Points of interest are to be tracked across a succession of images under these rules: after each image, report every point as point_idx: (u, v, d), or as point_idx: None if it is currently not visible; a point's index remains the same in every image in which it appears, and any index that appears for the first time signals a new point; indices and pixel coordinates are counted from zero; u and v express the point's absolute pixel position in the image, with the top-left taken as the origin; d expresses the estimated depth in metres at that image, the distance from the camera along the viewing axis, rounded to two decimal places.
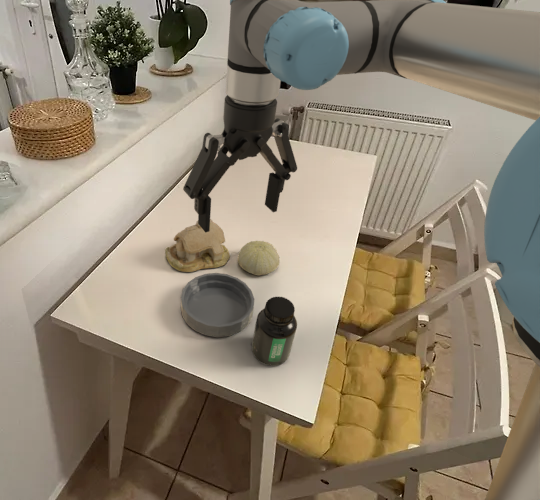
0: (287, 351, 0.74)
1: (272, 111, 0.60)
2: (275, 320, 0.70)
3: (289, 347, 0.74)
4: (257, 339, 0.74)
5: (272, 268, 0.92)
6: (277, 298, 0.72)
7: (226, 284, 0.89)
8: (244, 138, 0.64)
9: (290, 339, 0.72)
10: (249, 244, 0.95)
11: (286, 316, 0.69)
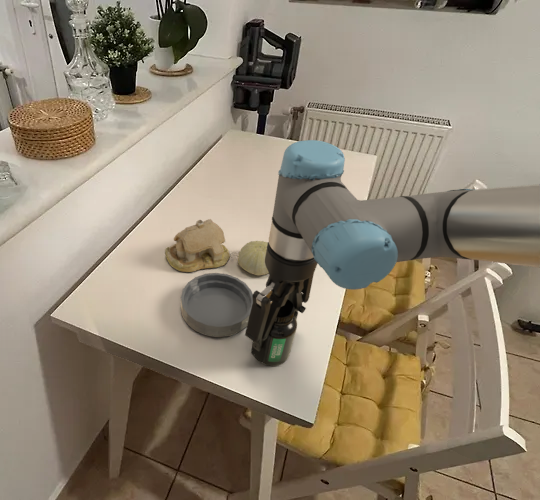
0: (287, 351, 0.74)
1: None
2: (275, 320, 0.70)
3: (289, 347, 0.74)
4: None
5: None
6: None
7: (226, 284, 0.89)
8: (287, 283, 0.64)
9: (290, 339, 0.72)
10: (249, 244, 0.95)
11: (286, 316, 0.69)
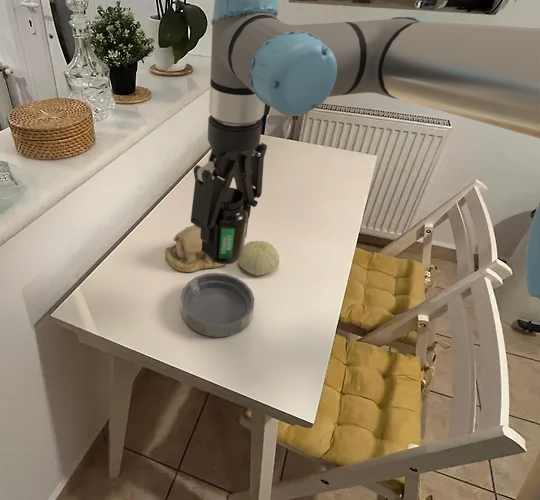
0: (238, 246, 0.71)
1: (260, 128, 0.59)
2: (222, 207, 0.67)
3: (240, 242, 0.71)
4: None
5: (272, 268, 0.92)
6: None
7: (226, 284, 0.89)
8: (231, 159, 0.62)
9: (240, 230, 0.69)
10: (249, 244, 0.95)
11: (233, 202, 0.66)
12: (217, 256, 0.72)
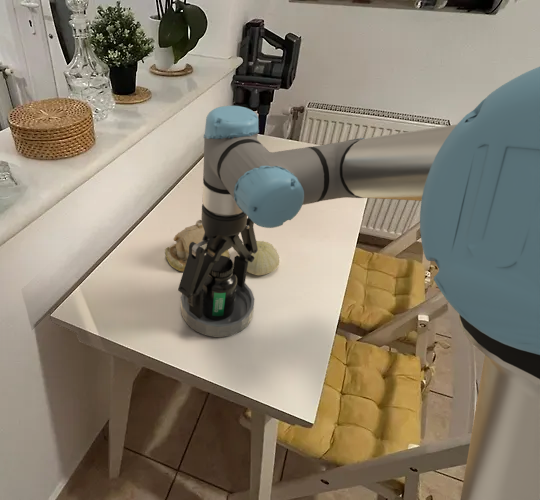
0: (229, 306, 0.81)
1: (246, 216, 0.69)
2: (215, 275, 0.77)
3: (231, 302, 0.81)
4: None
5: (272, 268, 0.92)
6: None
7: None
8: (222, 238, 0.72)
9: (230, 294, 0.79)
10: None
11: (224, 271, 0.76)
12: (211, 314, 0.82)
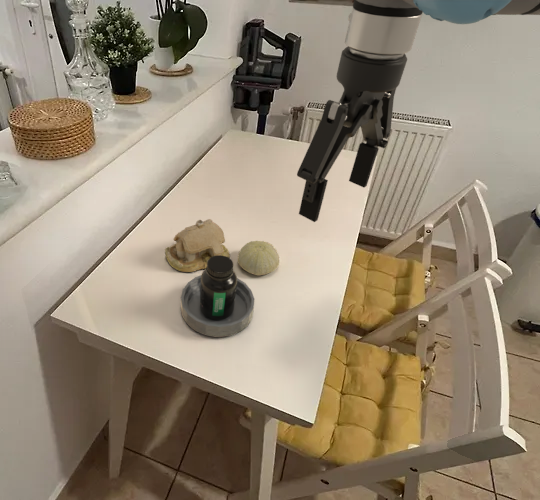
0: (229, 306, 0.81)
1: (405, 64, 0.51)
2: (215, 275, 0.77)
3: (231, 302, 0.81)
4: (202, 294, 0.81)
5: (272, 268, 0.92)
6: (218, 256, 0.79)
7: None
8: (365, 102, 0.54)
9: (230, 294, 0.79)
10: (249, 244, 0.95)
11: (224, 271, 0.76)
12: (211, 314, 0.82)
